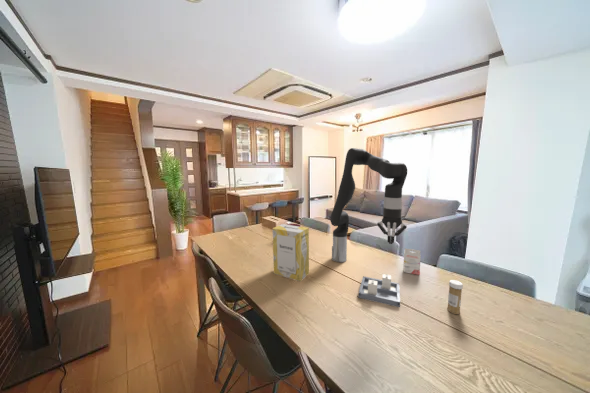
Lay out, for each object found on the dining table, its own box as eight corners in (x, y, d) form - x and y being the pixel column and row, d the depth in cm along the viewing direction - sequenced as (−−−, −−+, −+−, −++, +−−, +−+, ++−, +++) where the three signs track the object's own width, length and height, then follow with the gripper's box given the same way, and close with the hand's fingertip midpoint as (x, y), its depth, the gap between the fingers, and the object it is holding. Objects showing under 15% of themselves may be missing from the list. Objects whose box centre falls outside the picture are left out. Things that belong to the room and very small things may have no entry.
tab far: (381, 287, 108) (382, 276, 107) (382, 283, 111) (382, 273, 111) (390, 289, 106) (391, 278, 105) (390, 285, 110) (391, 274, 109)
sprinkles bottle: (462, 313, 90) (465, 284, 89) (454, 315, 89) (456, 285, 88) (452, 306, 95) (455, 278, 93) (444, 308, 94) (446, 280, 92)
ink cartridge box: (419, 271, 127) (420, 247, 125) (419, 275, 123) (421, 250, 121) (403, 268, 131) (404, 245, 129) (403, 272, 127) (404, 248, 124)
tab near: (367, 294, 103) (368, 282, 102) (368, 289, 106) (369, 278, 105) (376, 296, 101) (377, 284, 100) (377, 291, 105) (377, 280, 104)
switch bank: (358, 297, 102) (358, 292, 102) (362, 280, 118) (363, 276, 117) (399, 307, 95) (400, 302, 95) (398, 287, 110) (399, 283, 110)
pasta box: (273, 273, 127) (272, 228, 123) (283, 266, 136) (282, 224, 132) (300, 281, 118) (299, 232, 114) (308, 273, 127) (308, 227, 123)
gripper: (376, 207, 96) (374, 244, 99) (409, 209, 91) (407, 248, 93) (377, 204, 103) (376, 239, 105) (408, 206, 97) (406, 242, 100)
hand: (390, 243), depth 99 cm, fingers closed
